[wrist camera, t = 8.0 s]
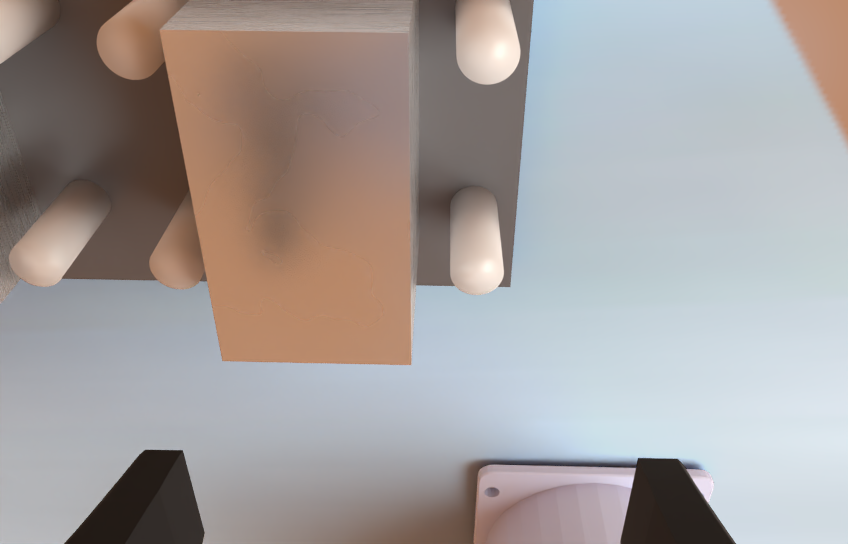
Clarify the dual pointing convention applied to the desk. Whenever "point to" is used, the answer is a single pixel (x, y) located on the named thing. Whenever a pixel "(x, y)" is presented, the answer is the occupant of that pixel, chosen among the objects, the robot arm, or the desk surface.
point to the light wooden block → (12, 201)
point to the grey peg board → (163, 157)
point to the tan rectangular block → (303, 172)
